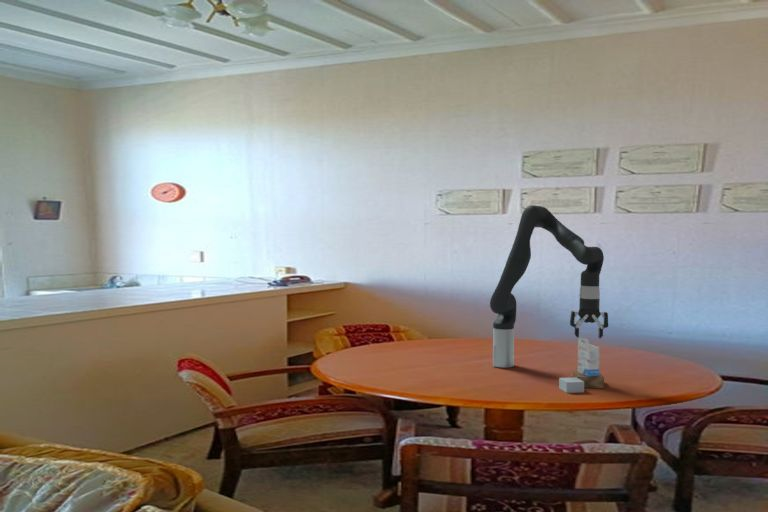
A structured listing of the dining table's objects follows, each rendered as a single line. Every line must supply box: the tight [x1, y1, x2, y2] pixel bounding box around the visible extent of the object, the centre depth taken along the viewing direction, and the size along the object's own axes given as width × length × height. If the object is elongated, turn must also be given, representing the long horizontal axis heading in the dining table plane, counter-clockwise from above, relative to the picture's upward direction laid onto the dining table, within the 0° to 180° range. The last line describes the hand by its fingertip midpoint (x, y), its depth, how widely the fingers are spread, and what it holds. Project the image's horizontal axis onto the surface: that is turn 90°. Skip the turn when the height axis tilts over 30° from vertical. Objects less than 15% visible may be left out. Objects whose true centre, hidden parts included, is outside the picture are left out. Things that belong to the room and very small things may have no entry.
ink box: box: [577, 336, 600, 377], centre depth 243 cm, size 8×5×15 cm, turn 12°
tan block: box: [572, 370, 605, 389], centre depth 243 cm, size 10×10×4 cm
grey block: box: [558, 377, 585, 394], centre depth 234 cm, size 7×7×4 cm
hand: (588, 337), depth 242 cm, fingers open, 8 cm apart
